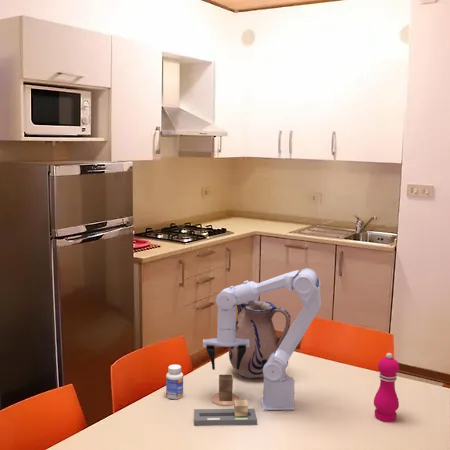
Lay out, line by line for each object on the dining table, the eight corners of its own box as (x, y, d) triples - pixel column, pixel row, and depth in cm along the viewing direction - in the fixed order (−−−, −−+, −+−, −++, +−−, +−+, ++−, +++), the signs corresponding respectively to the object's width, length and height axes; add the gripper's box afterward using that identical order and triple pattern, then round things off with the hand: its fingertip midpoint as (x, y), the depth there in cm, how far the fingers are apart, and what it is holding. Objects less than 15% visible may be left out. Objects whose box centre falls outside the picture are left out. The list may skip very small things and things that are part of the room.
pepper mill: (384, 425, 166) (388, 359, 163) (367, 414, 172) (371, 350, 169) (403, 419, 169) (407, 355, 166) (385, 409, 175) (389, 347, 173)
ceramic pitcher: (231, 362, 211) (233, 296, 207) (289, 366, 208) (291, 299, 204) (225, 381, 194) (226, 310, 190) (287, 386, 191) (290, 314, 187)
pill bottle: (180, 400, 179) (180, 370, 177) (163, 398, 180) (164, 369, 178) (185, 393, 184) (185, 364, 183) (169, 391, 185) (169, 362, 184)
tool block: (231, 395, 182) (231, 374, 181) (232, 401, 178) (232, 379, 177) (218, 395, 182) (219, 374, 181) (219, 401, 178) (219, 379, 177)
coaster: (238, 393, 185) (238, 391, 185) (240, 405, 176) (241, 404, 176) (210, 393, 184) (210, 392, 184) (211, 406, 175) (211, 404, 175)
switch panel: (254, 413, 171) (254, 408, 171) (257, 424, 164) (257, 419, 164) (194, 413, 170) (194, 408, 170) (194, 425, 163) (194, 420, 163)
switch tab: (246, 410, 169) (246, 399, 169) (247, 416, 165) (247, 405, 165) (233, 410, 169) (234, 399, 169) (235, 416, 165) (235, 406, 165)
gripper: (248, 322, 183) (247, 363, 185) (202, 322, 182) (202, 363, 184) (250, 329, 176) (249, 372, 178) (203, 330, 175) (202, 372, 177)
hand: (225, 368), depth 180 cm, fingers open, 7 cm apart
